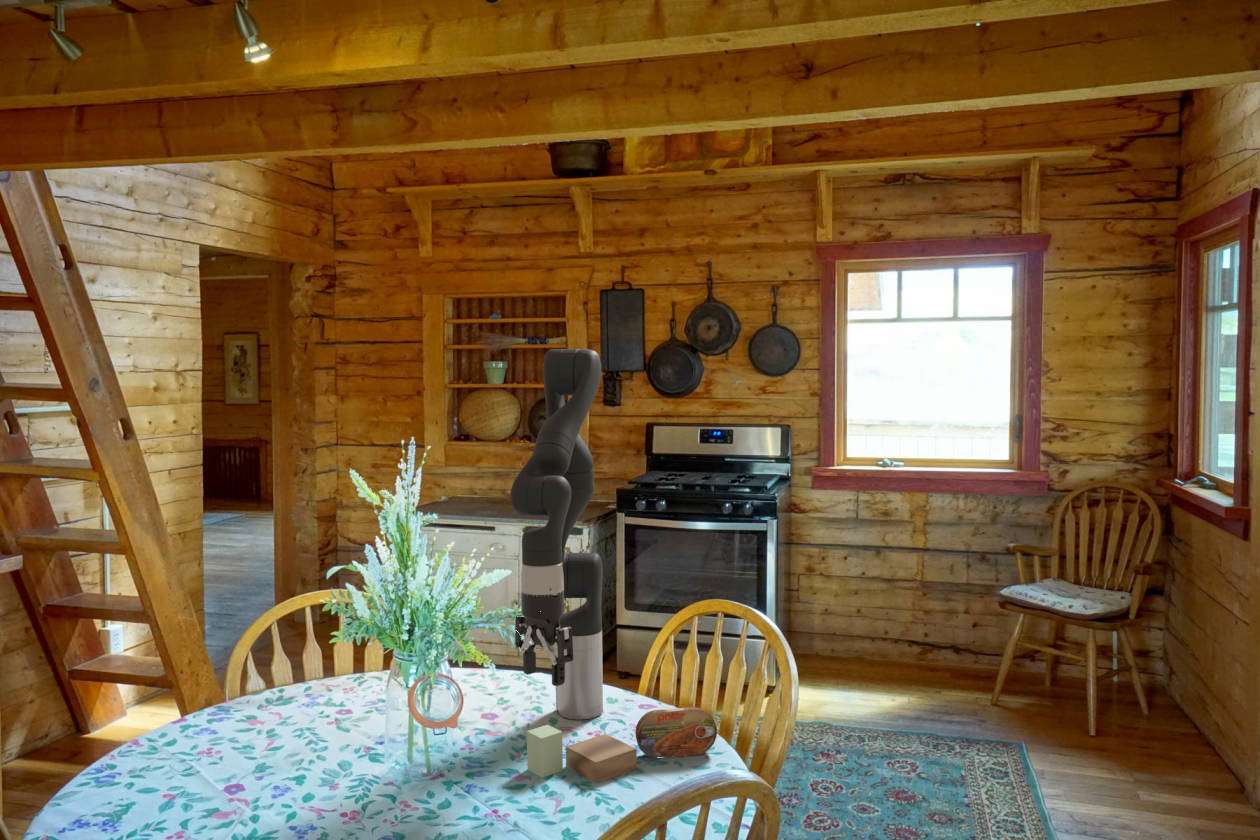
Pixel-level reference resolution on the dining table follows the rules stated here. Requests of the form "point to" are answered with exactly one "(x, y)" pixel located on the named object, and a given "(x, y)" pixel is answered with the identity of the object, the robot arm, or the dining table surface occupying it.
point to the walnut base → (601, 758)
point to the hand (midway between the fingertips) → (543, 679)
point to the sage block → (544, 751)
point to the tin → (676, 732)
